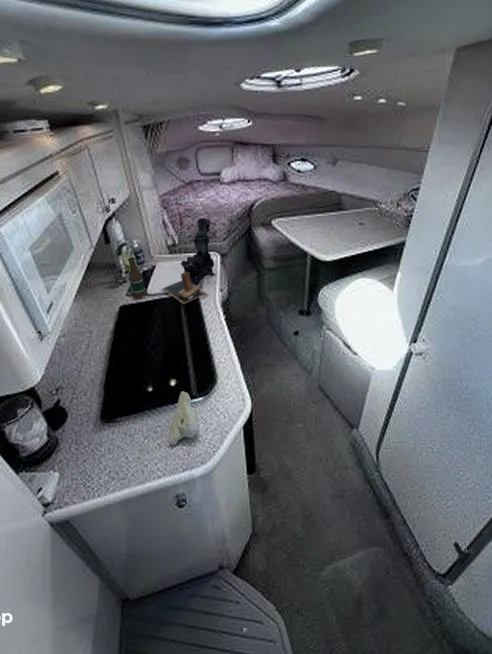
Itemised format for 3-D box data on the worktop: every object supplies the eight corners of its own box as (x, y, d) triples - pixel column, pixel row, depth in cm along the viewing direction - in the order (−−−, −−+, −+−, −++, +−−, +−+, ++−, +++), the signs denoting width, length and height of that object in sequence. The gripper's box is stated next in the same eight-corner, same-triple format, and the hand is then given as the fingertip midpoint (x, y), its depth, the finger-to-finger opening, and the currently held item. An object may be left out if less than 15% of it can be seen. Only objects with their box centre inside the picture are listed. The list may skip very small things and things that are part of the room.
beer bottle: (135, 292, 197) (126, 255, 186) (148, 292, 197) (140, 255, 185) (131, 299, 190) (121, 261, 179) (144, 299, 190) (135, 261, 178)
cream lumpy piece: (192, 456, 107) (215, 412, 110) (173, 451, 104) (197, 405, 107) (176, 434, 120) (196, 395, 123) (158, 428, 116) (180, 388, 120)
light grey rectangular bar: (188, 298, 186) (188, 298, 185) (192, 295, 188) (192, 295, 188) (189, 299, 185) (189, 298, 185) (193, 296, 188) (193, 295, 188)
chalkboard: (162, 290, 198) (162, 288, 197) (184, 281, 206) (184, 279, 206) (183, 306, 182) (183, 304, 181) (206, 295, 190) (206, 293, 189)
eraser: (178, 297, 188) (174, 276, 182) (191, 288, 196) (187, 268, 190) (186, 299, 185) (182, 278, 179) (199, 290, 193) (195, 269, 187)
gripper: (180, 247, 188) (170, 273, 185) (207, 253, 180) (197, 280, 177) (190, 254, 198) (181, 279, 195) (216, 260, 189) (207, 286, 186)
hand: (191, 281), depth 188 cm, fingers open, 9 cm apart
